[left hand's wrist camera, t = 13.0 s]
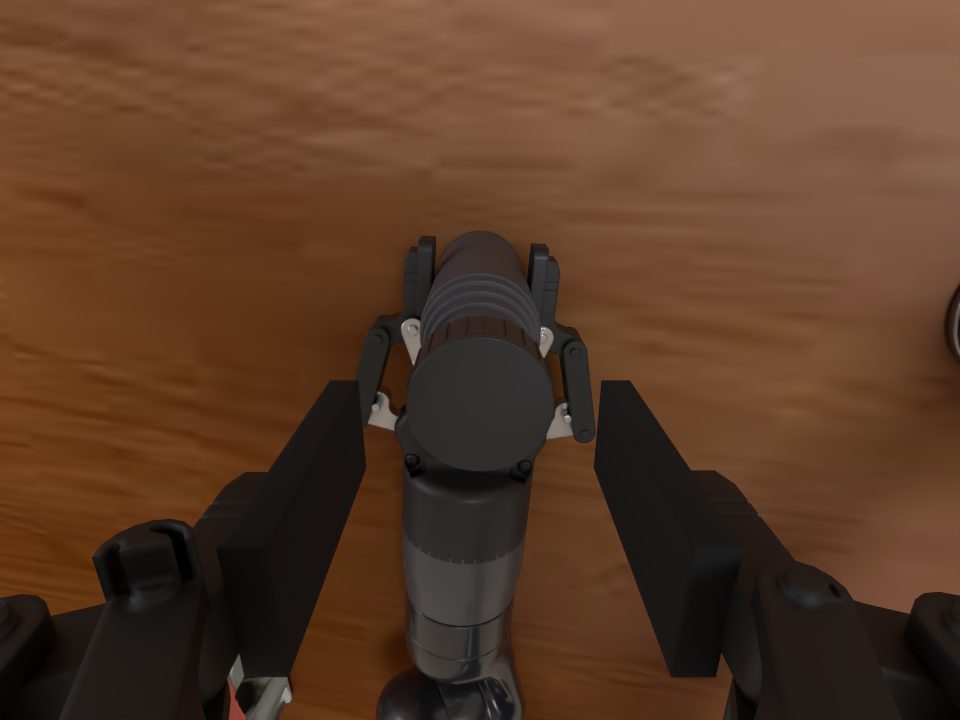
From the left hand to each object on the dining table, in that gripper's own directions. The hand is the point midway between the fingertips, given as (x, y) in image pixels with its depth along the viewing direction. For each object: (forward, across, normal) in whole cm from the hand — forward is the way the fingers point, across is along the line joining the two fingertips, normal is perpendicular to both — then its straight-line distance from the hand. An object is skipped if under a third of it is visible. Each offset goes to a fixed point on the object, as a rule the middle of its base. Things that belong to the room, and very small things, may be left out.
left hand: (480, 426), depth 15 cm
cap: (+1, 0, 0) cm, 1 cm away
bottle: (+20, 0, 0) cm, 20 cm away
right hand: (+13, 0, -3) cm, 14 cm away
